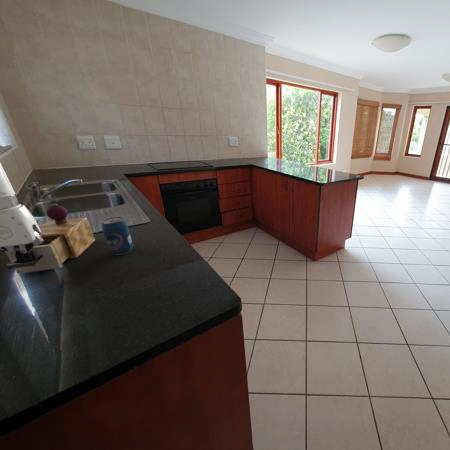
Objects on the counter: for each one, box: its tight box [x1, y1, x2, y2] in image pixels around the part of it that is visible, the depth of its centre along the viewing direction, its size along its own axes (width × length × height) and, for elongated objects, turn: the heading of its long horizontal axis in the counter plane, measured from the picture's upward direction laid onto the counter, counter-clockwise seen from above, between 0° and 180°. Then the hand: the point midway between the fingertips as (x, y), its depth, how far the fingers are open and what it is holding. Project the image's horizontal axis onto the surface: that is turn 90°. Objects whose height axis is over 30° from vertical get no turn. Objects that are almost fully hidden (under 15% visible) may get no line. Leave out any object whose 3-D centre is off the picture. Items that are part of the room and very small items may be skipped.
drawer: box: [4, 235, 72, 274], centre depth 73 cm, size 18×10×8 cm, turn 18°
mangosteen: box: [46, 203, 69, 224], centre depth 82 cm, size 5×5×7 cm
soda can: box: [101, 216, 134, 256], centre depth 82 cm, size 7×7×12 cm
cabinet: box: [38, 217, 96, 260], centre depth 83 cm, size 14×12×10 cm
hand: (29, 263), depth 68 cm, fingers closed
